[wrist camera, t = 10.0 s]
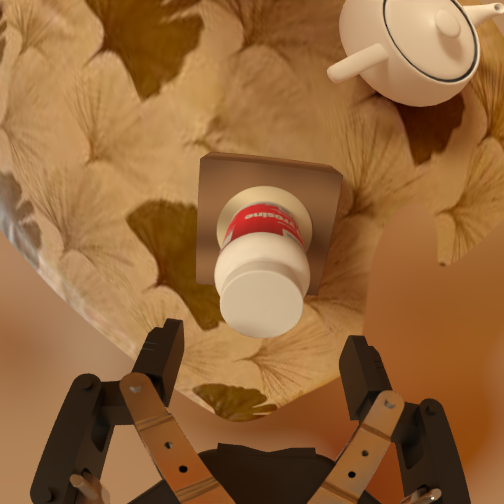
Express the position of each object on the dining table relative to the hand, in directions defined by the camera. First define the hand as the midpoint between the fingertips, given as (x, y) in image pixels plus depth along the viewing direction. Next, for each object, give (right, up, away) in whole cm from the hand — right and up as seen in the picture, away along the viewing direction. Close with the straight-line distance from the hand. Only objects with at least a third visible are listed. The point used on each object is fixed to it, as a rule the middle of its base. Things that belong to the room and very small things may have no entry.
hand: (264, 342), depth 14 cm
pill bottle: (0, +6, +13) cm, 14 cm away
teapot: (+15, +26, +8) cm, 31 cm away
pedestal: (+1, +8, +17) cm, 19 cm away
